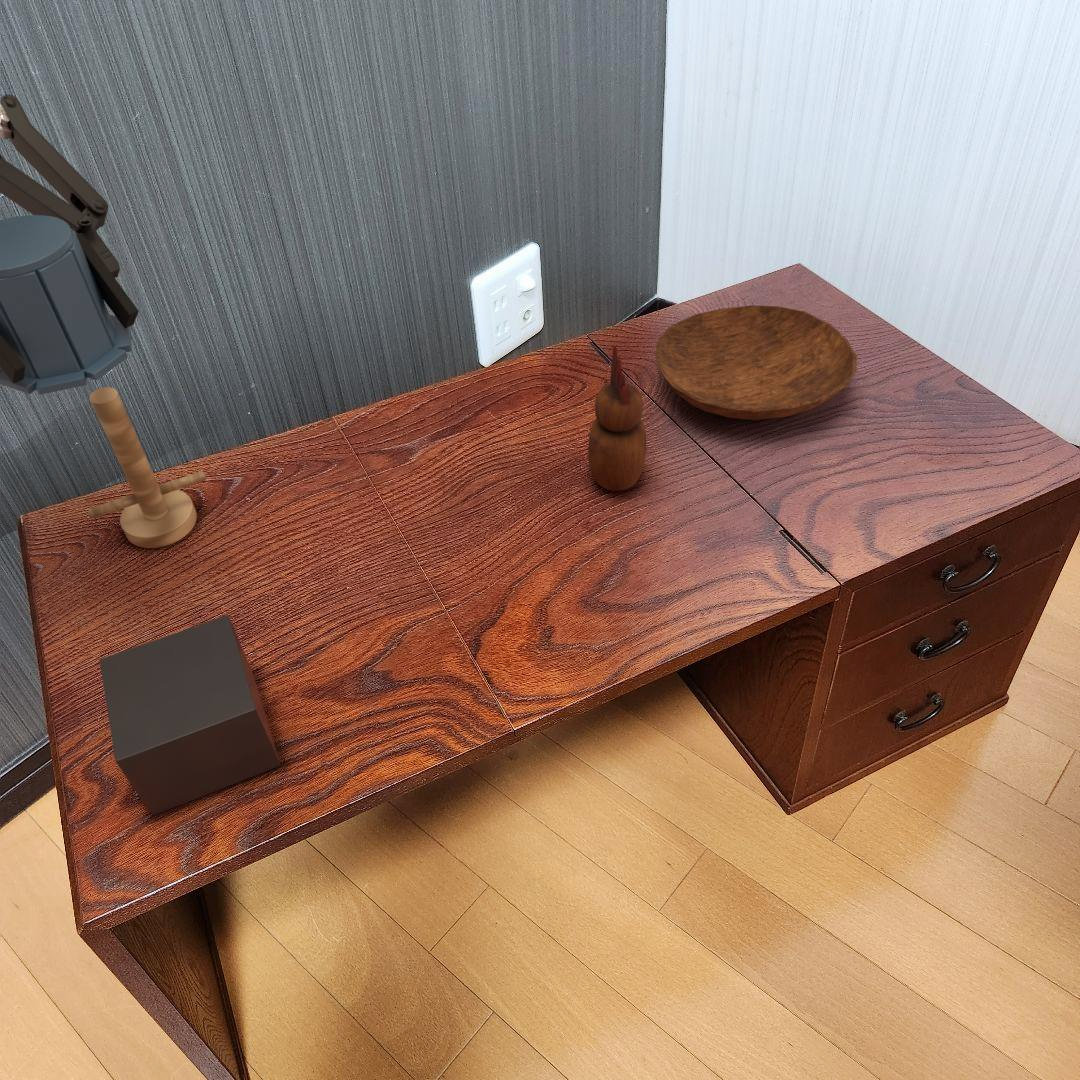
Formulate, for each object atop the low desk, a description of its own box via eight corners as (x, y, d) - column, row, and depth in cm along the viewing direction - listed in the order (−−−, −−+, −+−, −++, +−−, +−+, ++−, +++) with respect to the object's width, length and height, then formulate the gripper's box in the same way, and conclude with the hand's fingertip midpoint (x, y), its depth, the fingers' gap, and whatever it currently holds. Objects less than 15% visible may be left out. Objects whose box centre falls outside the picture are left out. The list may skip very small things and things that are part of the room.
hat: (-33, 372, 68) (-98, 260, 61) (66, 306, 74) (17, 197, 67) (62, 406, 65) (5, 291, 58) (158, 334, 70) (116, 223, 64)
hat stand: (110, 566, 90) (41, 437, 78) (97, 522, 94) (30, 394, 82) (226, 524, 93) (177, 395, 82) (208, 483, 98) (159, 356, 86)
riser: (152, 816, 71) (115, 761, 65) (134, 716, 77) (98, 658, 72) (281, 766, 74) (256, 709, 68) (253, 673, 80) (228, 614, 74)
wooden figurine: (591, 455, 99) (593, 334, 88) (646, 458, 98) (654, 337, 87) (584, 498, 94) (585, 377, 83) (641, 502, 94) (650, 380, 83)
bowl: (879, 426, 101) (890, 389, 97) (686, 461, 98) (690, 424, 94) (802, 328, 114) (810, 292, 111) (631, 357, 111) (632, 321, 108)
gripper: (7, 46, 71) (192, 304, 74) (-300, 139, 60) (-66, 433, 64) (10, -20, 64) (211, 265, 68) (-333, 70, 54) (-71, 401, 58)
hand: (77, 346), depth 66 cm, fingers closed on hat, 8 cm apart
